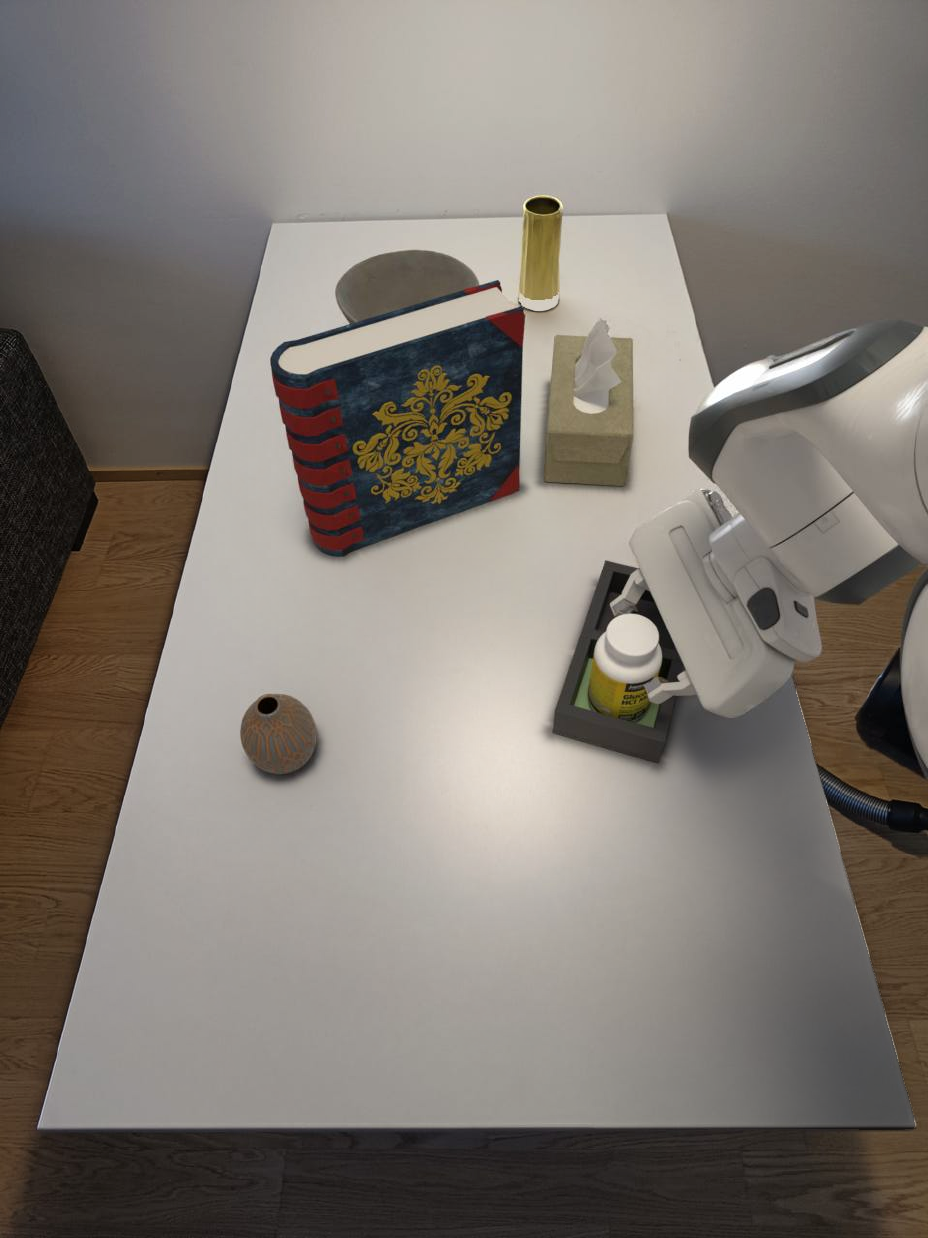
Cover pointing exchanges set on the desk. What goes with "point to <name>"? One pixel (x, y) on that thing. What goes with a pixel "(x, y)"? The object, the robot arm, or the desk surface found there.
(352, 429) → the book
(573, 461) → the tissue box
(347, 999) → the desk surface
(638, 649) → the pill bottle
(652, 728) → the holder
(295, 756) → the vase
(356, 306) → the bowl
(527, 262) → the vase
